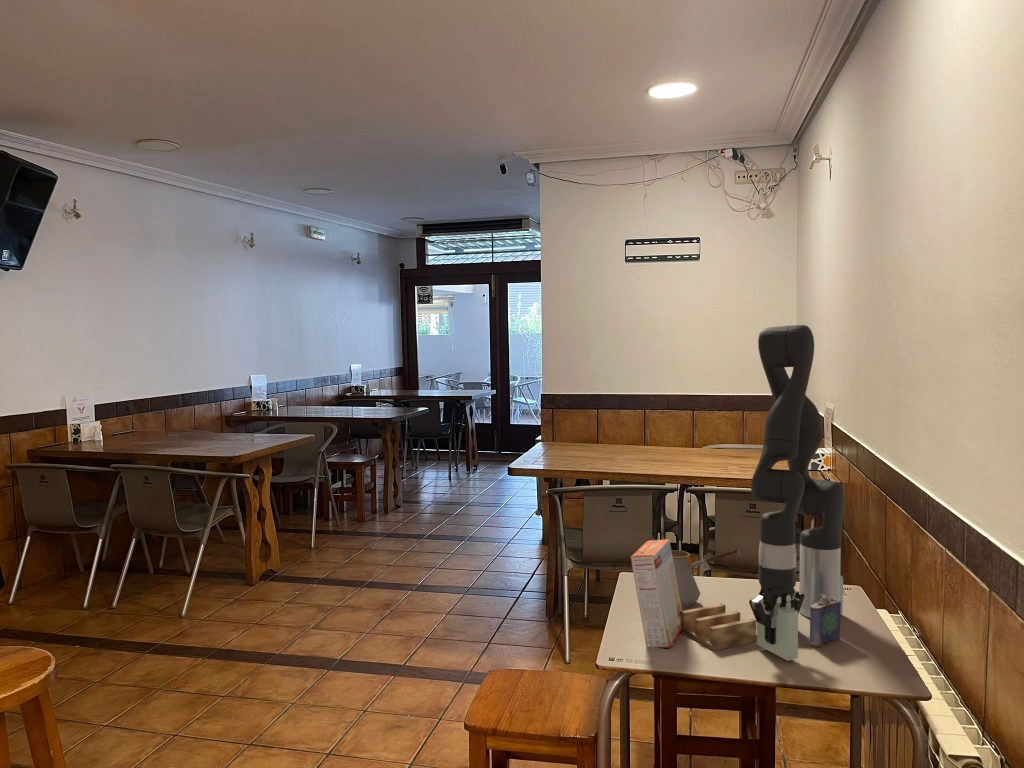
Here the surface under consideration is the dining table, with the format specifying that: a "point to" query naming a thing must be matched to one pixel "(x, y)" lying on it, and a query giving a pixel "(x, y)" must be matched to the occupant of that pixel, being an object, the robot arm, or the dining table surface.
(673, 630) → the cracker box
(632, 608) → the dining table surface
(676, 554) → the coffee pot
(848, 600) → the dining table surface
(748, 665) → the dining table surface
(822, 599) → the flask
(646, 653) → the dining table surface
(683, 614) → the rack
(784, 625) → the sage green tall prism
